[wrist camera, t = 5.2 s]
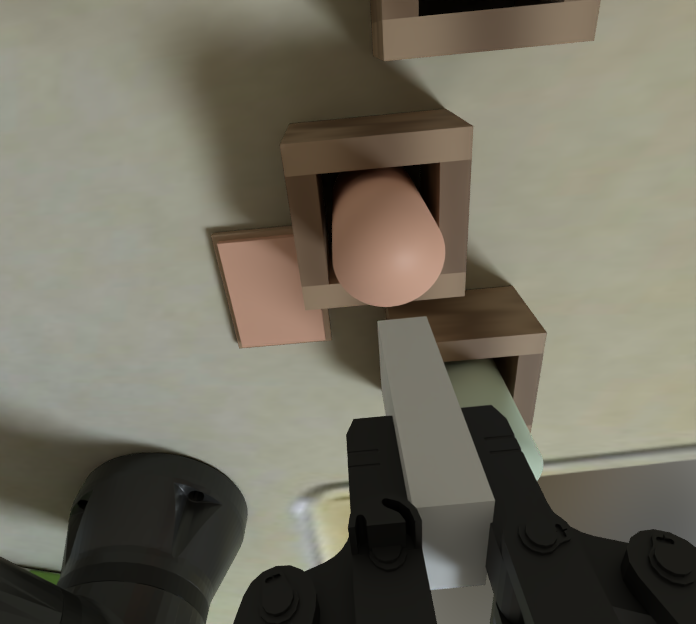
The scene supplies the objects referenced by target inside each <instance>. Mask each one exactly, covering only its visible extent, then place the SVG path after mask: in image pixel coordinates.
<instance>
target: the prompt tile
mask: <svg viewBox="0 0 696 624" xmlns="http://www.w3.org/2000/svg"><path fill="white" fill-rule="evenodd" d="M211 238H212V242H213V246H214V250H215V254H216V258H217V261H218V265H219V269H220V273H221V277H222V281H223V285H224V289H225V293H226V297H227V301H228V305H229V309H230V313H231V317H232V321H233V325H234V329H235V333H236V337H237V341H238V345H239V348H251V347H262V346H273V345H285V344H296V343H307V342H318V341H330V340H332V335H331V327H330V319H329V311H328V308H327V309H316V310H305V306H304V299H303V293H302V286H301V280H300V273H299V267H298V260H297V254H296V247H295V241H294V234H293V228H292V226H282V227H271V228H260V229H250V230H239V231H228V232H217V233H212V235H211Z"/></svg>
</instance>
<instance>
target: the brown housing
mask: <svg viewBox="0 0 696 624" xmlns="http://www.w3.org/2000/svg"><path fill="white" fill-rule="evenodd" d="M472 142H473V126H472V125H471V124H469V123H467V122H466V121H464V120H463V119H461V118H460V117H458V116H456V115H455V114H453V113H452V112H450V111H448V110H447V109H438V110H427V111H417V112H406V113H396V114H386V115H375V116H365V117H354V118H344V119H334V120H323V121H313V122H302V123H292V124H289V126H288V128H287V130H286V132H285V134H284V137H283V139H282V141H281V143H280V150H281V156H282V163H283V169H284V176H285V182H286V189H287V195H288V202H289V208H290V215H291V221H292V228H293V234H294V241H295V247H296V254H297V260H298V267H299V273H300V280H301V286H302V293H303V299H304V306H305V310H316V309H327V308H338V307H349V306H361V305H369V304H366V303H363V302H361V301H359V300H357V299H356V298H354V297H352V296H351V295H350V294H349V293H348V292H347V291H346V290H345V289H344V288H343V287H342V286H341V284H340V283H339V281H338V279H337V277H336V275H335V272H334V268H333V259H332V242H331V243H329V237H328V228H327V219H326V210H325V201H324V193H323V184H322V175H321V174H322V173H333V172H343V171H354V170H364V169H375V168H386V167H396V166H407V165H417V164H420V195H421V197H422V199H423V201H424V202H425V204H426V206H427V208H428V210H429V211H430V213H431V215H432V217H433V218H434V220H435V222H436V224H437V225H438V227H439V229H440V231H441V233H442V236H443V239H444V243H445V261H444V265H443V268H442V271H441V273H440V275H439V277H438V279H437V280H436V281H435V283H434V284H433V285H432V286H431V288H430V289H429V290H428V291H426V292H425V293H424V294H423V295H421V296H420V297H418V298H417V299H415V300H413V301H416V300H427V299H439V298H450V297H461V296H465V280H466V261H467V241H468V221H469V201H470V181H471V161H472Z"/></svg>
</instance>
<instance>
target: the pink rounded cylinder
mask: <svg viewBox="0 0 696 624" xmlns="http://www.w3.org/2000/svg"><path fill="white" fill-rule="evenodd" d="M332 259H333V268H334V272H335V275H336V277H337V279H338V281H339V283H340V284H341V286H342V287H343V288H344V289H345V290H346V291H347V292H348V293H349V294H350V295H351V296H352V297H354V298H356V299H357V300H359V301H361V302H363V303H366V304H369V305H373V306H379V307H392V306H399V305H402V304H406V303H408V302H411V301H413V300H415V299H417V298H418V297H420V296H421V295H423V294H424V293H425V292H426V291H428V290H429V289H430V288H431V286H432V285H433V284H434V283H435V281H436V280H437V279H438V277H439V275H440V273H441V271H442V268H443V265H444V261H445V243H444V239H443V236H442V233H441V231H440V229H439V227H438V225H437V224H436V222H435V220H434V218H433V217H432V215H431V213H430V211H429V210H428V208H427V206H426V204H425V202H424V201H423V199H422V197H421V195H420V194H419V192H418V190H417V188H416V187H415V185H414V183H413V181H412V179H411V178H410V176H409V174H408V173H407V171H406V170H405V169H404V168H403V166H396V167H386V168H375V169H364V170H354V171H343V172H340V173H339V175H338V176H337V178H336V180H335V183H334V186H333V190H332Z"/></svg>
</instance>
